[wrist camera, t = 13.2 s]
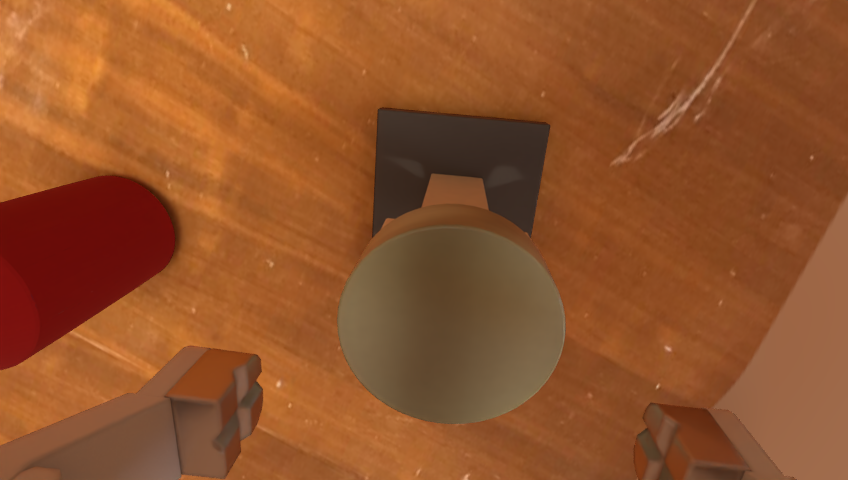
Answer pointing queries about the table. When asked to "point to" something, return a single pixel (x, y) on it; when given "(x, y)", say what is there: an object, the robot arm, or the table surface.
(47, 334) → the beverage can
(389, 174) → the stand
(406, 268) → the disc
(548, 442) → the table surface
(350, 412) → the table surface
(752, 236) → the table surface
